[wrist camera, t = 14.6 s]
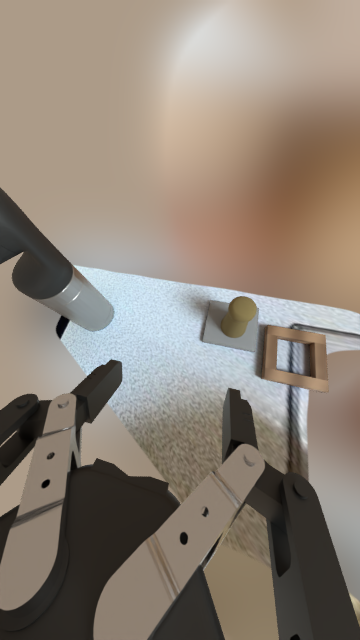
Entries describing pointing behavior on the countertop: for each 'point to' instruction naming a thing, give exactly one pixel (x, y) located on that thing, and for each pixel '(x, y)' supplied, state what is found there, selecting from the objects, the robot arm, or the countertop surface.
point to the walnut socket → (317, 358)
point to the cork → (238, 316)
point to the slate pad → (217, 337)
